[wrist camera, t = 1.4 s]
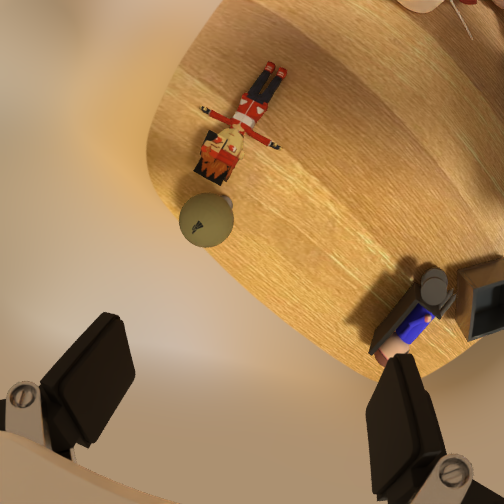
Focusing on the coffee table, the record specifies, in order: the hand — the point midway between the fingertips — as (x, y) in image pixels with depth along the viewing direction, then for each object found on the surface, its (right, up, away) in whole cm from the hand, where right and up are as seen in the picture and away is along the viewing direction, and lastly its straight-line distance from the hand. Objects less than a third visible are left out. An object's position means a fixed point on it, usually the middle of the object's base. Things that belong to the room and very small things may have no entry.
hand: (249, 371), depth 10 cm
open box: (+34, -1, +26) cm, 42 cm away
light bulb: (-3, +10, +28) cm, 30 cm away
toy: (0, +19, +23) cm, 30 cm away
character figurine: (+21, -3, +29) cm, 36 cm away
